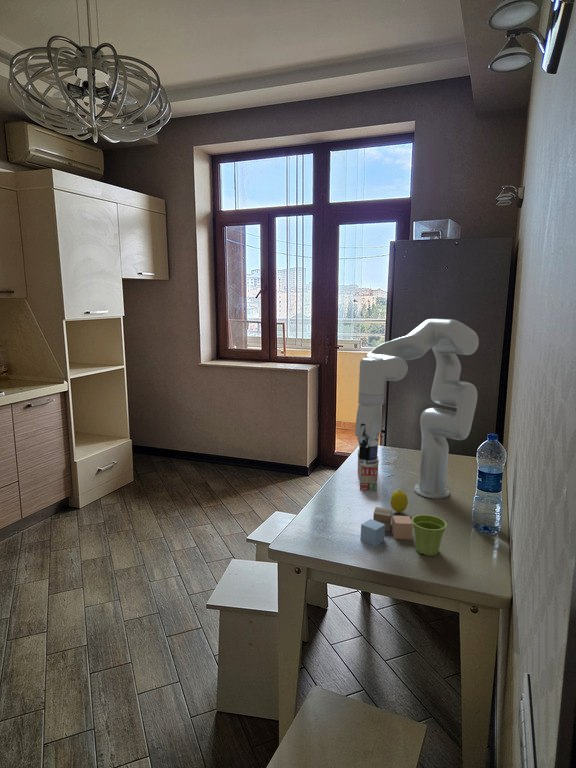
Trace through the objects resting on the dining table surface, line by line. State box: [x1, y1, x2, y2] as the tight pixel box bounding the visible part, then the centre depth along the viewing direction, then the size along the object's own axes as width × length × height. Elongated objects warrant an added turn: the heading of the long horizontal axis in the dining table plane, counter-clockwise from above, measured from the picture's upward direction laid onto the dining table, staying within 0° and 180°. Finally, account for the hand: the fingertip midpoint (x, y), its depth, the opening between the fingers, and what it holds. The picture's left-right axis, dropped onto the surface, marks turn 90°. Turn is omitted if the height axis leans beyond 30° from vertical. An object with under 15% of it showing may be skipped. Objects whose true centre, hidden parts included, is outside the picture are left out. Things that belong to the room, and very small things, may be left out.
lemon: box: [390, 489, 409, 514], centre depth 156 cm, size 6×6×8 cm
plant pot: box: [411, 514, 448, 557], centre depth 132 cm, size 9×9×9 cm
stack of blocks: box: [357, 448, 380, 492], centre depth 184 cm, size 21×6×12 cm, turn 175°
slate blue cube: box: [360, 518, 386, 547], centre depth 138 cm, size 5×5×5 cm
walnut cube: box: [372, 506, 393, 532], centre depth 147 cm, size 5×5×5 cm
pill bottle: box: [359, 435, 379, 467], centre depth 144 cm, size 5×5×10 cm
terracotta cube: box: [391, 515, 414, 540], centre depth 141 cm, size 5×5×5 cm
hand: (368, 456), depth 144 cm, fingers closed on pill bottle, 5 cm apart
